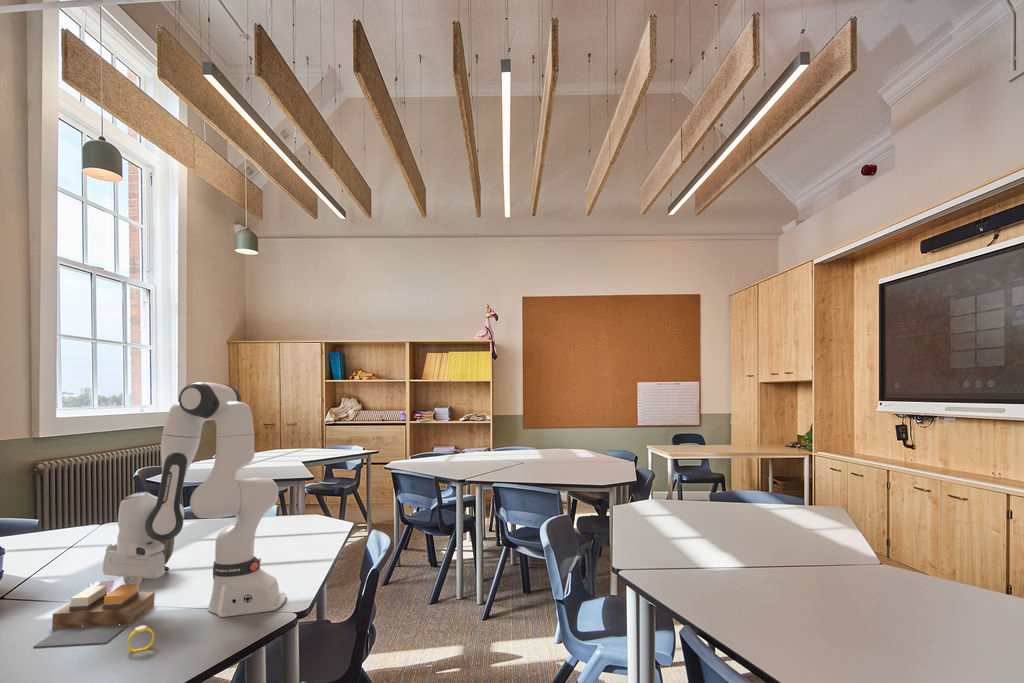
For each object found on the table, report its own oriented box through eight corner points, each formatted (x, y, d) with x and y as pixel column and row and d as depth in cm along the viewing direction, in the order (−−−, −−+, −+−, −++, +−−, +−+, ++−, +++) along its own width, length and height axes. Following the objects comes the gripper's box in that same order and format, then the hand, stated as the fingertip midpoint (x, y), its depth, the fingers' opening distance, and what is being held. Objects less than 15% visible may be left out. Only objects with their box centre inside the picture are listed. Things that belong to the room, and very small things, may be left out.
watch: (127, 656, 150) (126, 633, 150) (127, 652, 152) (126, 629, 152) (154, 648, 153) (153, 625, 153) (154, 644, 156) (153, 622, 156)
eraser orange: (138, 595, 180) (138, 583, 180) (121, 608, 170) (121, 595, 170) (121, 596, 179) (121, 584, 179) (102, 609, 169) (103, 596, 170)
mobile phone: (81, 597, 187) (89, 582, 201) (81, 600, 187) (89, 585, 201) (109, 593, 191) (115, 579, 204) (109, 596, 191) (115, 581, 204)
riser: (154, 604, 183) (154, 591, 183) (130, 623, 169) (131, 609, 169) (81, 608, 180) (82, 595, 180) (52, 628, 166) (52, 613, 166)
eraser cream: (107, 597, 179) (107, 585, 179) (87, 610, 169) (88, 597, 169) (89, 597, 178) (90, 585, 178) (69, 611, 168) (69, 598, 168)
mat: (128, 625, 168) (128, 624, 168) (106, 643, 156) (106, 642, 156) (61, 629, 165) (61, 627, 165) (33, 647, 154) (33, 646, 154)
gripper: (97, 546, 181) (96, 591, 180) (152, 550, 176) (151, 597, 176) (115, 540, 187) (114, 584, 186) (168, 544, 183) (167, 589, 182)
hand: (132, 590), depth 181 cm, fingers closed
